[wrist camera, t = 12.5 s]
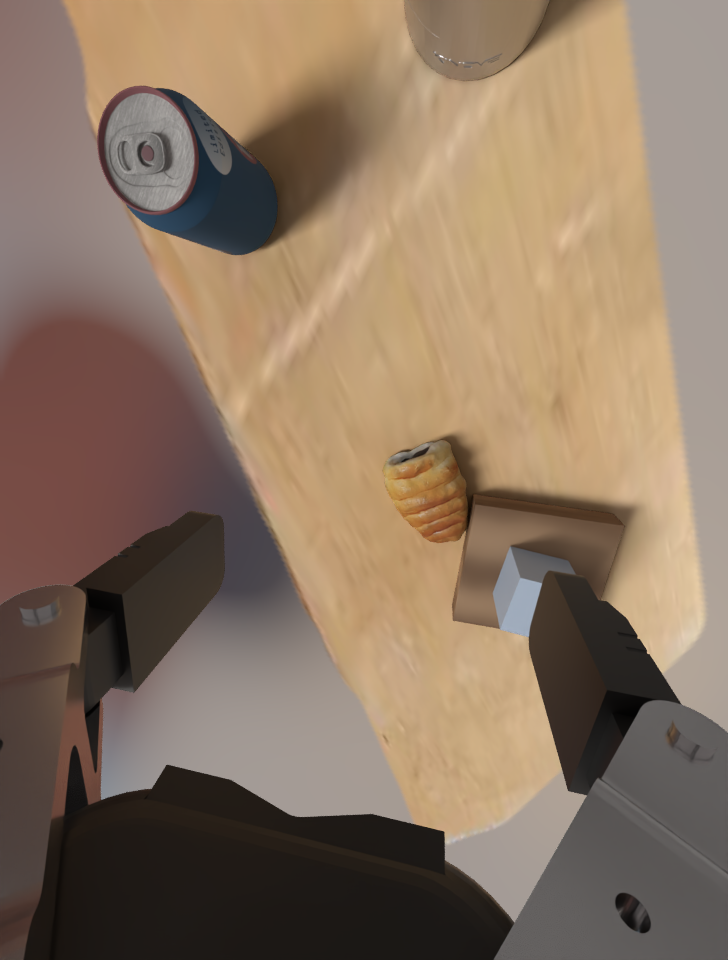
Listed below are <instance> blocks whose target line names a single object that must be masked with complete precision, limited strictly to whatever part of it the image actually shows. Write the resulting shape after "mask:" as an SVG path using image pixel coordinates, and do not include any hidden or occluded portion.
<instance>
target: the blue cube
mask: <svg viewBox="0 0 728 960" xmlns="http://www.w3.org/2000/svg"><path fill="white" fill-rule="evenodd" d="M550 570H551V571H557V572H563V573H569V574H575V572H574V570H573V568H572V567H571V565H570V563H569V561H568V560H564V559H560V558H556V557H552V556H548V555H544V554H540V553H536V552H532V551H528V550H524V549H520V548H516V547H512V546H510V548H509V551H508V553H507V556H506V559H505V561H504V564H503V567H502V569H501V572H500V575H499V578H498V580H497V583H496V586H495V588H494V591H493V597H494V602H495V607H496V612H497V617H498V622H499V627H500V630H504V631H507V632H511V633H515V634H519V635H522V636H526V637H529V631H530V625H531V621H532V618H533V614H534V611H535V607H536V604H537V600H538V597H539V593H540V589H541V586H542V582H543V579H544V576H545V574H546V573H547V572H548V571H550ZM575 575H576V574H575Z"/></svg>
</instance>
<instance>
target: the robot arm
mask: <svg viewBox="0 0 728 960" xmlns="http://www.w3.org/2000/svg"><path fill="white" fill-rule="evenodd" d="M549 1H550V0H404V6H405V15H406V21H407V25H408V29H409V34H410V37H411V39H412V41H413V43H414V46H415V48H416V50H417V52H418V53H419V54H420V56H421V57H422V58H423V60H424V61H425V62H426V64H428V65H429V66H430V67H431V68H432V69H434V70H435V71H436V72H437V73H439V74H441V75H444V76H446V77H448V78H450V79H456V80H462V81H469V80H479V79H482V78H485V77H488V76H490V75H493V74H495V73H497V72H498V71H500V70H502V69H503V68H505V67H506V66H508V65H509V64H510V63H511V62H512V61H514V60H515V59H516V58H517V57H518V56H519V55H520V54H521V53H522V52H523V51H524V49H525V48H526V47H527V45H528V44H529V43H530V41H531V40H532V39H533V37H534V35H535V34H536V32H537V30H538V28H539V26H540V24H541V22H542V20H543V18H544V15H545V12H546V9H547V6H548V3H549ZM224 562H225V561H224V523H223V519H222V518H221V516H219V515H214V514H208V513H202V512H196V511H189V512H187V513H186V514H185V515H183V516H182V517H181V518H179V519H178V520H177V521H175V522H174V523H172V524H171V525H170V526H165V527H163V528H160V529H157V530H155V531H152V532H150V533H147V534H145V535H144V536H142V537H141V538H140V539H138V540H137V541H135V542H134V543H132V544H131V546H130V547H127V548H126V549H124V550H123V551H121V552H120V553H118V556H114V557H113V558H111V559H110V560H109V561H107V562H106V563H104V564H103V565H101V566H100V567H99V568H97V569H96V570H94V571H93V572H92V573H90V574H89V575H87V576H86V577H85V578H83V579H82V580H80V581H79V582H78V583H76V584H75V585H73V586H70V585H49V586H43V587H38V588H35V589H31V590H28V591H25V592H22V593H20V594H18V595H16V596H14V597H12V598H10V599H8V600H7V601H5V602H4V603H2V604H1V605H0V960H728V733H727V732H726V731H725V730H724V729H723V728H721V727H720V726H719V725H718V724H716V723H715V722H713V721H712V720H711V719H709V718H707V717H706V716H704V715H702V714H701V713H699V712H697V711H695V710H693V709H691V708H689V707H686V706H683V705H682V704H681V703H680V701H679V700H678V698H677V697H676V695H675V694H674V692H673V690H672V689H671V687H670V686H669V684H668V683H667V681H666V679H665V678H664V676H663V675H662V673H661V672H660V670H659V668H658V667H657V665H656V664H655V662H654V661H653V659H652V658H651V656H650V654H647V650H646V648H645V647H644V645H643V643H642V642H641V640H640V639H637V634H636V632H635V631H634V629H633V628H632V626H631V625H630V623H629V621H628V620H627V618H626V617H624V616H623V615H622V614H621V613H620V612H619V611H617V610H616V609H615V608H614V607H613V606H612V605H610V604H609V603H608V602H606V601H600V600H598V598H597V597H596V595H595V593H594V591H593V590H592V588H591V586H590V585H589V583H588V581H587V579H586V578H585V577H584V576H581V575H575V574H569V573H563V572H557V571H551V570H550V571H548V572H547V573H546V574H545V576H544V579H543V582H542V586H541V589H540V593H539V597H538V600H537V604H536V607H535V611H534V614H533V618H532V621H531V625H530V631H529V650H530V655H531V658H532V662H533V666H534V669H535V673H536V677H537V680H538V684H539V687H540V691H541V695H542V698H543V702H544V705H545V709H546V713H547V716H548V720H549V724H550V727H551V731H552V734H553V738H554V742H555V745H556V749H557V752H558V756H559V760H560V763H561V767H562V771H563V774H564V778H565V781H566V785H567V789H568V791H571V792H575V793H579V794H584V795H587V797H586V798H585V800H584V802H583V804H582V805H581V807H580V809H579V811H578V812H577V814H576V816H575V818H574V820H573V821H572V823H571V825H570V826H569V828H568V830H567V832H566V833H565V835H564V837H563V839H562V840H561V842H560V844H559V846H558V847H557V849H556V851H555V853H554V855H553V856H552V858H551V860H550V862H549V863H548V865H547V867H546V869H545V870H544V872H543V874H542V876H541V878H540V879H539V881H538V883H537V885H536V886H535V888H534V890H533V891H532V893H531V895H530V897H529V899H528V900H527V902H526V904H525V906H524V907H523V909H522V911H521V913H520V914H519V916H518V918H517V920H516V921H515V923H514V922H513V920H512V919H511V918H510V916H509V915H508V914H507V913H506V912H505V911H504V910H503V908H502V907H501V906H500V905H499V904H498V903H497V902H496V901H495V900H494V898H493V897H492V896H491V895H490V894H489V893H488V892H486V891H485V890H484V889H483V888H482V887H481V886H480V885H479V884H478V883H477V882H475V881H474V880H473V879H472V878H470V877H469V876H468V875H466V874H465V873H464V872H462V871H461V870H460V869H458V868H457V867H455V866H454V865H452V864H450V863H448V862H447V861H445V837H444V831H440V830H436V829H431V828H427V827H423V826H419V825H415V824H411V823H407V822H402V821H398V820H394V819H390V818H386V817H382V816H377V815H373V814H364V815H341V816H318V817H295V816H291V815H289V814H287V813H285V812H284V811H282V810H280V809H279V808H277V807H275V806H274V805H272V804H270V803H269V802H267V801H265V800H264V799H262V798H260V797H258V796H257V795H255V794H253V793H252V792H250V791H248V790H247V789H245V788H243V787H242V786H240V785H238V784H237V783H235V782H233V781H232V780H229V779H224V778H220V777H216V776H212V775H208V774H204V773H200V772H195V771H191V770H187V769H183V768H179V767H175V766H171V765H166V767H165V769H164V770H163V772H162V773H161V775H160V777H159V778H158V780H157V781H156V783H155V785H154V786H153V788H152V789H144V790H138V791H132V792H126V793H122V794H119V795H116V796H112V797H108V798H106V799H103V800H101V768H102V738H103V702H102V697H103V696H104V695H105V694H106V693H107V692H108V691H109V689H110V688H115V689H120V690H125V691H129V692H133V693H134V692H135V691H136V690H137V689H138V687H139V686H140V685H141V684H142V683H143V681H144V680H145V679H146V678H147V677H148V675H149V674H150V673H151V672H152V671H153V669H154V668H155V667H156V666H157V664H158V663H159V662H160V661H161V660H162V658H163V657H164V656H165V655H166V654H167V652H168V651H169V650H170V649H171V647H172V646H173V645H174V644H175V643H176V642H177V640H178V639H179V638H180V637H181V635H182V634H183V633H184V632H185V631H186V629H187V628H188V627H189V626H190V625H191V624H192V622H193V621H194V620H195V619H196V618H197V616H198V615H199V614H200V612H202V610H203V609H204V608H205V607H206V606H207V604H208V603H209V602H210V601H211V599H212V598H213V597H214V596H215V595H216V593H217V592H218V590H219V589H220V587H221V584H222V581H223V577H224V571H225V563H224Z"/></svg>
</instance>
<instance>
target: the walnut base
mask: <svg viewBox="0 0 728 960" xmlns="http://www.w3.org/2000/svg"><path fill="white" fill-rule="evenodd" d="M624 527H625V526H624V525H623V524H622V522H621V521H620V520H619V519H618V518H617V517H616V516H615V515H614V514H611V513H604V512H597V511H589V510H582V509H575V508H568V507H561V506H554V505H547V504H540V503H533V502H526V501H518V500H511V499H504V498H497V497H490V496H483V495H476V494H473V499H472V504H471V510H470V515H469V520H468V525H467V530H466V536H465V541H464V546H463V551H462V557H461V562H460V567H459V572H458V577H457V583H456V588H455V593H454V598H453V603H452V610H453V621H459V622H465V623H470V624H476V625H482V626H487V627H493V628H498V629H500V627H499V622H498V617H497V612H496V607H495V602H494V597H493V591H494V588H495V586H496V583H497V580H498V578H499V575H500V572H501V569H502V567H503V564H504V561H505V559H506V556H507V553H508V551H509V548H510V546H512V547H516V548H520V549H524V550H528V551H532V552H536V553H540V554H544V555H548V556H552V557H556V558H560V559H564V560H568V561H569V563H570V565H571V567H572V568H573V570H574V572H575V574H576V575H581V576H584V577H585V578H586V579H587V581H588V583H589V585H590V586H591V588H592V590H593V591H594V593H595V595H596V597H597V598H598V600H600V599H601V596H602V593H603V590H604V587H605V584H606V581H607V578H608V575H609V572H610V569H611V566H612V563H613V560H614V557H615V554H616V551H617V548H618V545H619V542H620V539H621V536H622V533H623V530H624Z"/></svg>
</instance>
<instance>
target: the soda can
mask: <svg viewBox="0 0 728 960" xmlns="http://www.w3.org/2000/svg"><path fill="white" fill-rule="evenodd" d="M97 145H98V155H99V160H100V164H101V167H102V170H103V173H104V175H105V177H106V179H107V181H108V183H109V185H110V186H111V188H112V190H113V191H114V192H115V193H116V195H117V196H118V197H119V198H120V199H121V200H122V201H123V202H124V203H125V204H126V205H127V207H128V208H129V209H130V210H131V211H132V213H133V214H134V215H135V216H136V217H138V218H139V219H140V220H141V221H142V222H144V223H145V224H147V225H148V226H150V227H152V228H154V229H157V230H160V231H163V232H166V233H169V234H171V235H174V236H177V237H180V238H183V239H186V240H189V241H192V242H195V243H198V244H201V245H203V246H206V247H209V248H212V249H215V250H218V251H221V252H224V253H227V254H231V255H244V254H248V253H251V252H253V251H255V250H256V249H258V248H259V247H261V246H262V245H263V244H264V243H265V242H266V240H267V239H268V238H269V236H270V234H271V233H272V231H273V228H274V226H275V222H276V218H277V208H278V205H277V195H276V190H275V187H274V184H273V181H272V179H271V177H270V175H269V173H268V172H267V170H266V169H265V168H264V166H263V165H262V164H261V163H260V162H259V161H258V160H257V159H256V158H255V157H254V156H252V155H251V154H250V153H249V152H248V151H247V150H246V149H245V148H244V147H242V146H241V145H240V144H239V143H238V142H237V141H236V140H235V139H234V138H233V137H231V136H230V135H229V134H228V133H227V132H226V131H225V130H224V129H223V128H221V127H220V126H219V125H218V124H217V123H216V122H215V121H214V120H213V119H211V118H210V117H209V116H208V115H207V114H206V113H205V112H204V111H203V110H201V109H200V108H199V107H198V106H197V105H196V104H195V103H194V102H192V101H191V100H190V99H189V98H187V97H186V96H184V95H182V94H180V93H178V92H176V91H173V90H170V89H164V88H152V87H148V86H134V87H130V88H127V89H125V90H123V91H121V92H119V93H118V94H117V95H115V96H114V97H113V98H112V99H111V101H110V102H109V103H108V105H107V106H106V108H105V110H104V112H103V114H102V117H101V120H100V123H99V128H98V137H97Z"/></svg>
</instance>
